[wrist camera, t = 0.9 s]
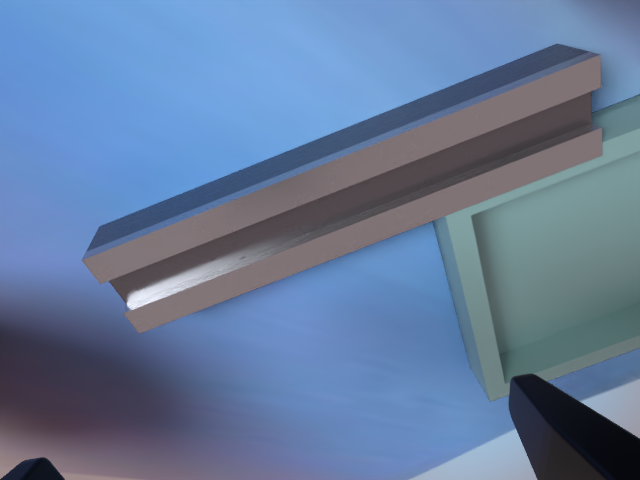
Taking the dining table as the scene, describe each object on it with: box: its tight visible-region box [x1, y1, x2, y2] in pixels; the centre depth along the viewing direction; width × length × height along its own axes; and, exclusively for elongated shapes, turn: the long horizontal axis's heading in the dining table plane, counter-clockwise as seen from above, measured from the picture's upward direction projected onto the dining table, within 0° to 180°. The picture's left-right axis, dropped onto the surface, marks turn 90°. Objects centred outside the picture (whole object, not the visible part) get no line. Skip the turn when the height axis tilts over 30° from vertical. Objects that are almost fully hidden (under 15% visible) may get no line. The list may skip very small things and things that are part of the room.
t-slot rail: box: [82, 44, 602, 334], centre depth 19 cm, size 20×4×3 cm, turn 110°
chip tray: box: [433, 95, 640, 402], centre depth 23 cm, size 13×13×2 cm
